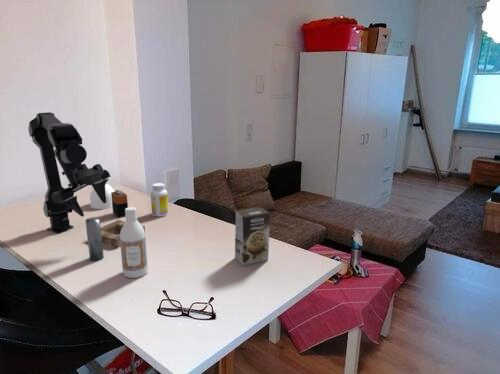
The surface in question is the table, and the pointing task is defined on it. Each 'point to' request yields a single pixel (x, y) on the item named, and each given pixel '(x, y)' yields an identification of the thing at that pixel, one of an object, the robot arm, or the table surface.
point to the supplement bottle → (159, 200)
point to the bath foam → (133, 246)
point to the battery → (119, 203)
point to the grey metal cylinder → (94, 239)
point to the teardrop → (96, 201)
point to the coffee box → (252, 235)
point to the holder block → (112, 233)
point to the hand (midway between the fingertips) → (94, 209)
